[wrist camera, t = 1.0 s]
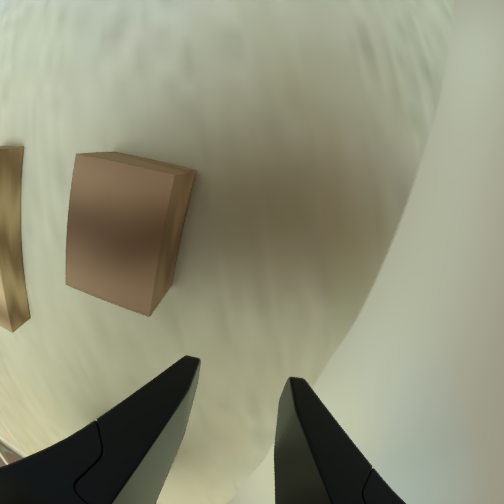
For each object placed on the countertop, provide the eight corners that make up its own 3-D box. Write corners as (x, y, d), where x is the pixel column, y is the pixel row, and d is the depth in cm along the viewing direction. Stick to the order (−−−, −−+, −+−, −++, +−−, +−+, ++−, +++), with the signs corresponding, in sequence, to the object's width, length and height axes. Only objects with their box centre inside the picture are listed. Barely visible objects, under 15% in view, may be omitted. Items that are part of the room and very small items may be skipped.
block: (172, 284, 20) (149, 316, 16) (99, 260, 20) (65, 284, 16) (197, 170, 18) (174, 175, 13) (114, 151, 18) (76, 153, 13)
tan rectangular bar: (30, 317, 22) (12, 332, 19) (11, 308, 22) (-6, 322, 19) (23, 147, 17) (-2, 149, 14) (4, 146, 17) (-21, 148, 14)
